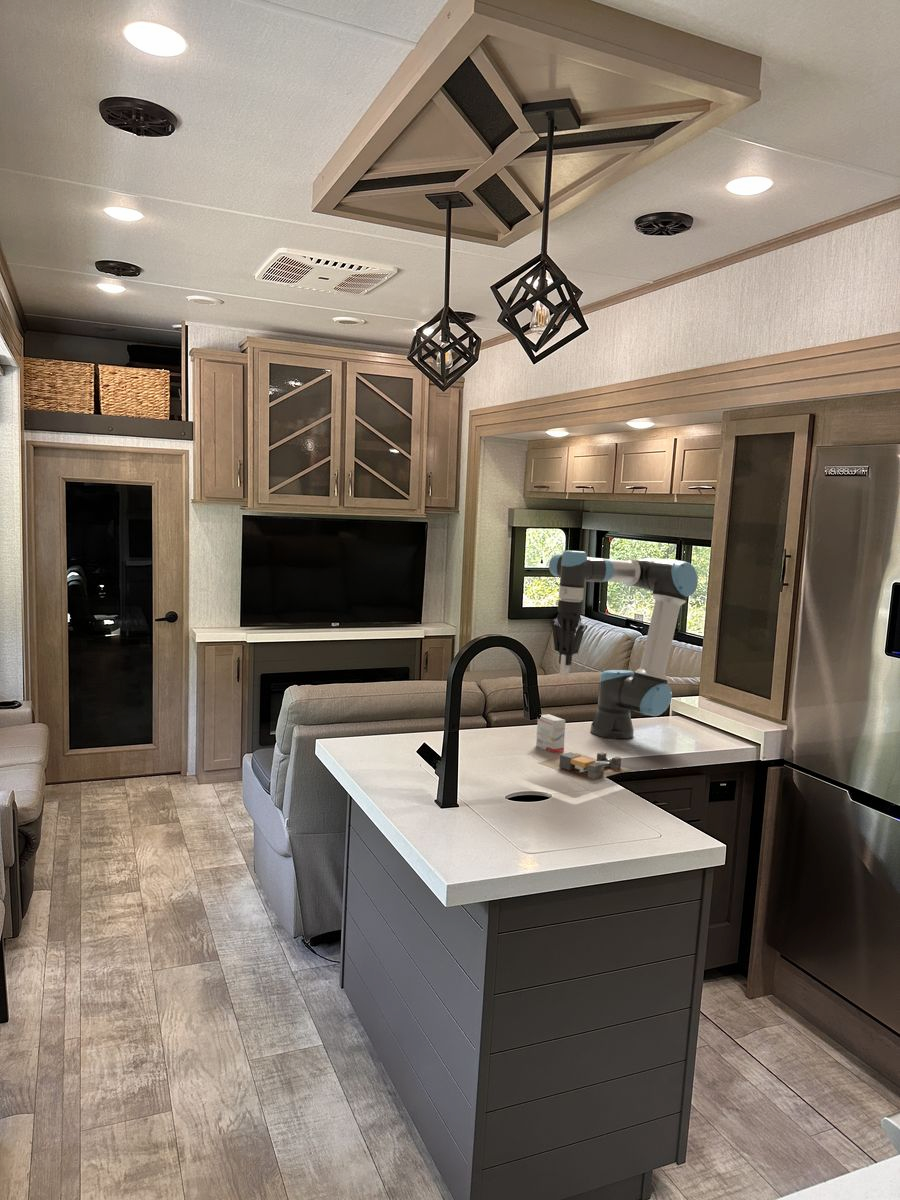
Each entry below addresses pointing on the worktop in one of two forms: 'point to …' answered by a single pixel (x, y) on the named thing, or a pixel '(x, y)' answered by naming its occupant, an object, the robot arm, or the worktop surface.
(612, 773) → the board
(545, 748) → the ink box
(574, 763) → the latch
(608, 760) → the strap
